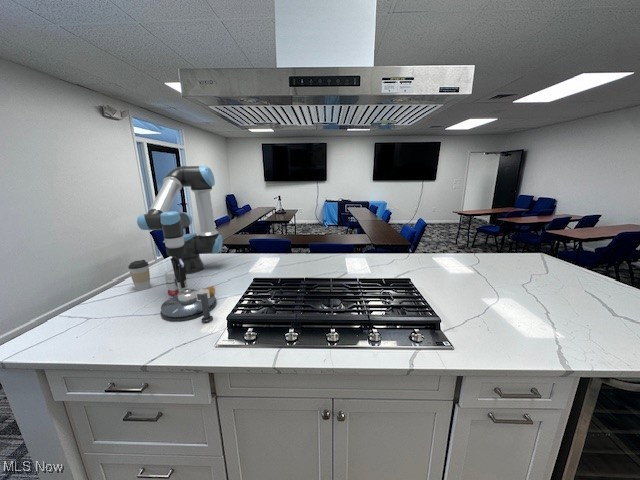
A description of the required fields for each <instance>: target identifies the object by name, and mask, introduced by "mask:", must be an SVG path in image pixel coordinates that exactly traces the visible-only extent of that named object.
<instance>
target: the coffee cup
mask: <svg viewBox="0 0 640 480" xmlns="http://www.w3.org/2000/svg"><path fill="white" fill-rule="evenodd" d="M149 265H150V263H149V262H147V261H146V259H141V260H135V261H132V262H130V263H129V265H128V270H129V274H130V277H131V280H132V283H133V285H134V288H135V290H136V291H142V290H146V289H149V288H150V287H151V275H150V274H151V273H150V268H149Z"/></svg>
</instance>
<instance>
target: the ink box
mask: <svg viewBox="0 0 640 480" xmlns="http://www.w3.org/2000/svg"><path fill="white" fill-rule="evenodd" d="M164 277H165V283H166V288H167V294H168V295H169V296H176V295H178V293H179V287H178V283H177V278H175V274H174V270H173V269H172V270H169V271H167V272H165V273H164ZM185 285H186V289H189V288H188V284H187V280H186V281H185Z"/></svg>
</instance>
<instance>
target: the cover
mask: <svg viewBox="0 0 640 480" xmlns="http://www.w3.org/2000/svg"><path fill="white" fill-rule="evenodd" d="M197 291H198V289H195V288H188V289H185V290H183V291H181V292H180V293H178V301H179V304H180V305H190V304H193V303H195V302H197V298H196V292H197Z"/></svg>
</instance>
